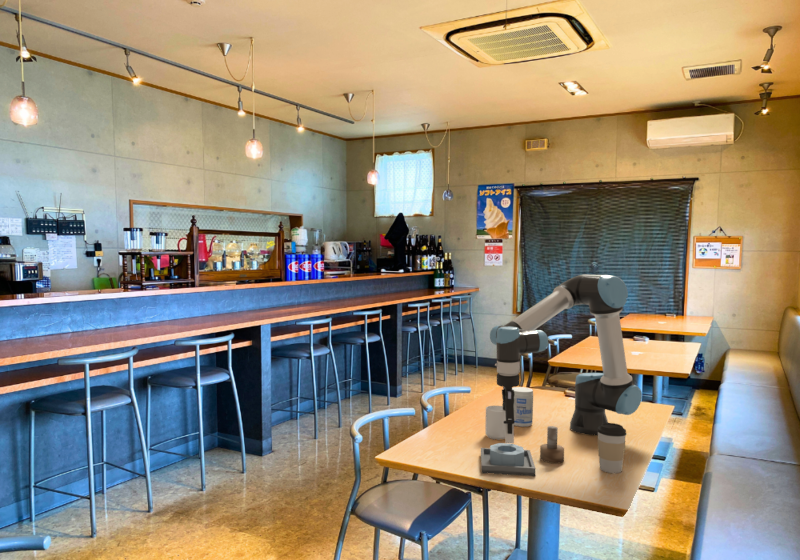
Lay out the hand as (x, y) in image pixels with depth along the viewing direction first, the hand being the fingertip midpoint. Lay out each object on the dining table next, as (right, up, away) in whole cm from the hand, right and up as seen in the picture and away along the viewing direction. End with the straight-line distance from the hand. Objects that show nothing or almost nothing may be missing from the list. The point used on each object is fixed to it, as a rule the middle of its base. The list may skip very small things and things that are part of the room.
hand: (508, 435), depth 188 cm
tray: (0, -10, 0) cm, 10 cm away
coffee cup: (+33, -10, -3) cm, 35 cm away
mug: (+2, -9, +31) cm, 32 cm away
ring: (0, -9, 0) cm, 9 cm away
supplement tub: (+14, -8, +47) cm, 50 cm away
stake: (+16, -10, +6) cm, 20 cm away
